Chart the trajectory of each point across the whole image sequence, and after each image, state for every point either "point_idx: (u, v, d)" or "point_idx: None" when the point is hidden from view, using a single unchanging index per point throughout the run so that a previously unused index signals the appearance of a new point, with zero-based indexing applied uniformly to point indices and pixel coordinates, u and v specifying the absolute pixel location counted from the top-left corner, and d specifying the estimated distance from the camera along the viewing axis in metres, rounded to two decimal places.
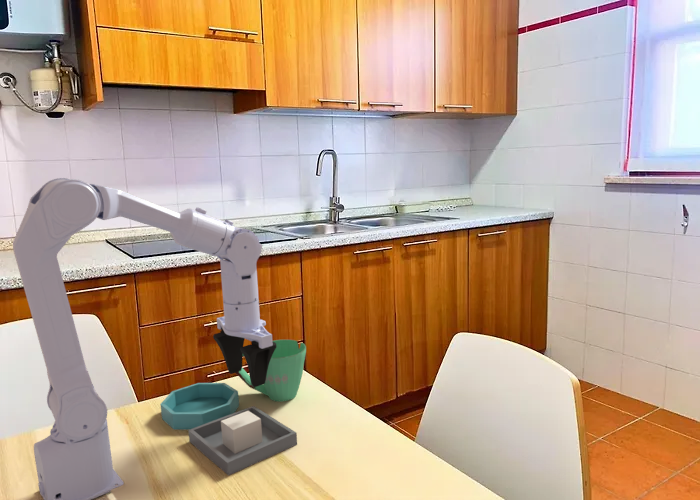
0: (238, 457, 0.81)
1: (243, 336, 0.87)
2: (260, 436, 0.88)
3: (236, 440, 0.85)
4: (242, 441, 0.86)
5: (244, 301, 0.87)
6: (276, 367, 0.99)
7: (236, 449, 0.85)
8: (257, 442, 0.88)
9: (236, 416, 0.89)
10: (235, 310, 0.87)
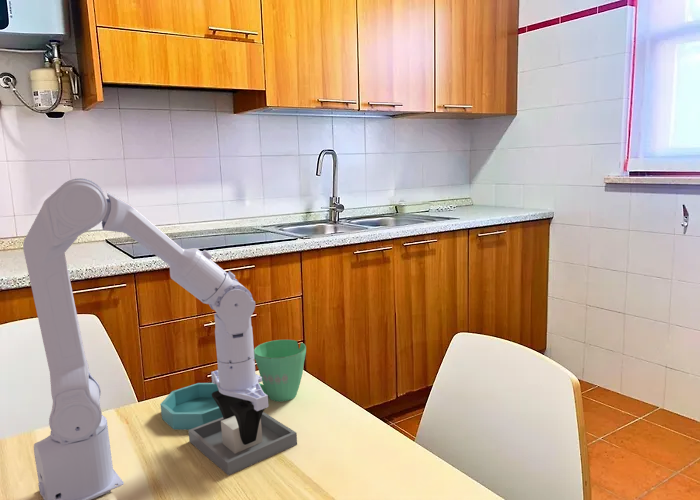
0: (238, 457, 0.81)
1: (238, 396, 0.83)
2: (260, 436, 0.88)
3: (236, 440, 0.85)
4: None
5: (235, 360, 0.83)
6: (276, 367, 0.99)
7: (236, 449, 0.85)
8: (257, 442, 0.88)
9: None
10: (229, 369, 0.83)
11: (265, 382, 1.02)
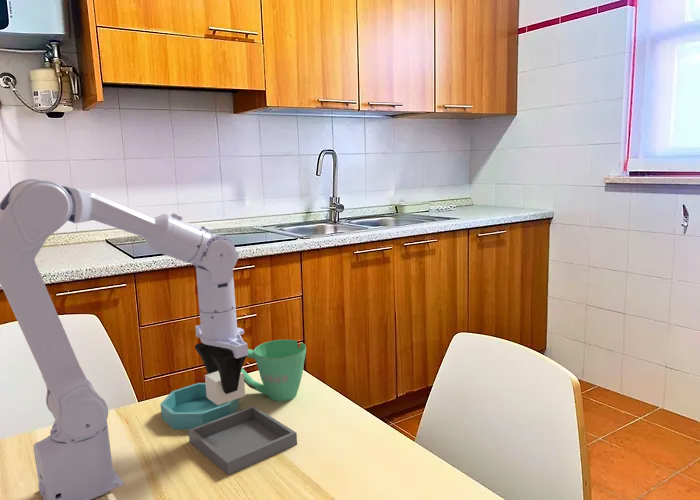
0: (238, 457, 0.81)
1: (218, 345, 0.85)
2: (243, 390, 0.91)
3: (219, 392, 0.88)
4: (225, 394, 0.89)
5: (221, 309, 0.86)
6: (276, 367, 0.99)
7: (218, 401, 0.88)
8: (240, 396, 0.90)
9: None
10: (211, 319, 0.86)
11: (265, 382, 1.02)
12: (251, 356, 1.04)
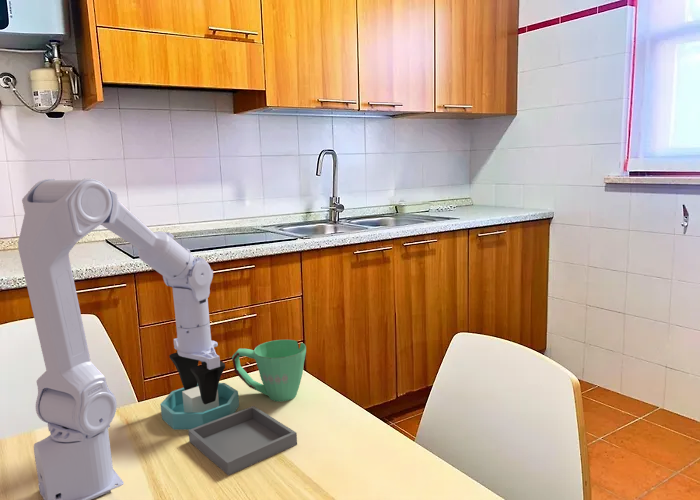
0: (238, 457, 0.81)
1: (193, 358, 0.94)
2: (217, 405, 0.99)
3: (195, 407, 0.97)
4: (200, 409, 0.97)
5: (202, 323, 0.95)
6: (276, 367, 0.99)
7: None
8: None
9: (196, 387, 1.00)
10: (186, 333, 0.94)
11: (265, 382, 1.02)
12: (251, 356, 1.04)
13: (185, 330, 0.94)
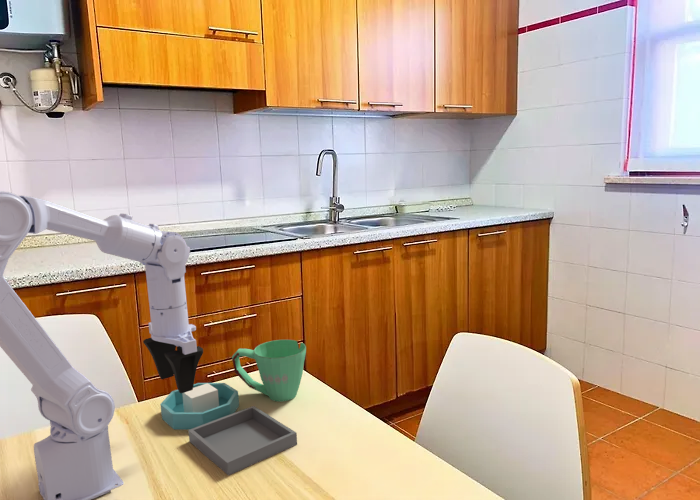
0: (238, 457, 0.81)
1: (168, 342, 0.85)
2: (217, 405, 0.99)
3: (195, 407, 0.97)
4: (200, 409, 0.97)
5: (175, 305, 0.86)
6: (276, 367, 0.99)
7: None
8: None
9: (196, 387, 1.00)
10: (160, 315, 0.86)
11: (265, 382, 1.02)
12: (251, 356, 1.04)
13: (159, 311, 0.85)
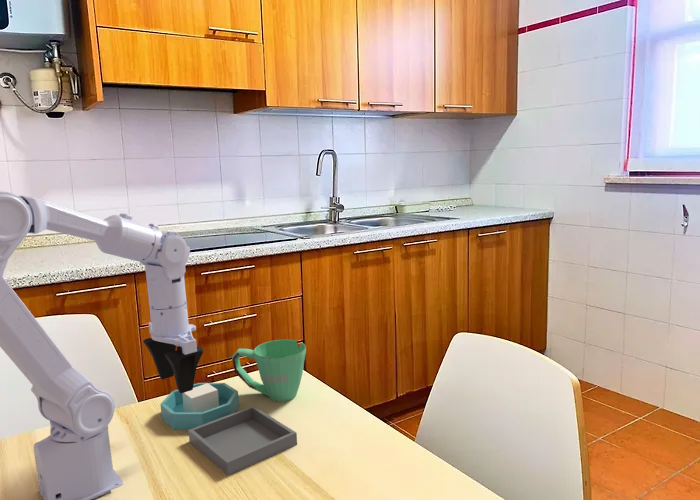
0: (238, 457, 0.81)
1: (168, 342, 0.85)
2: (217, 405, 0.99)
3: (195, 407, 0.97)
4: (200, 409, 0.97)
5: (175, 305, 0.86)
6: (276, 367, 0.99)
7: None
8: None
9: (196, 387, 1.00)
10: (160, 315, 0.86)
11: (265, 382, 1.02)
12: (251, 356, 1.04)
13: (159, 311, 0.85)
